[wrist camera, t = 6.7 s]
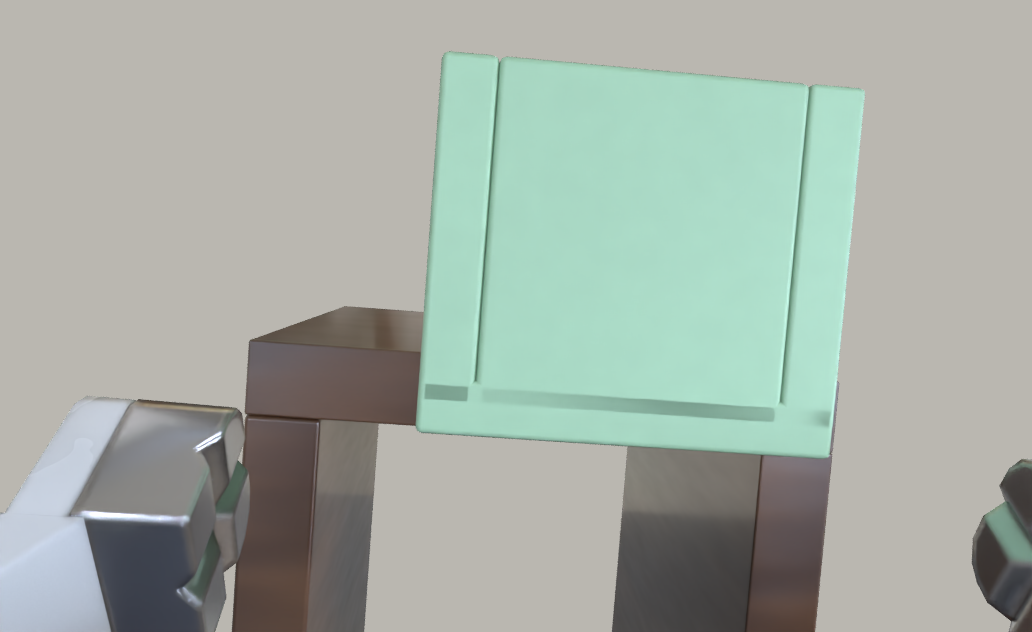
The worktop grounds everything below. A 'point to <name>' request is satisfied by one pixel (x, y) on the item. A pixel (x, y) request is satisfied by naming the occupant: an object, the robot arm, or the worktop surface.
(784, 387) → the storage tray
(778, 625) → the shelf stand
